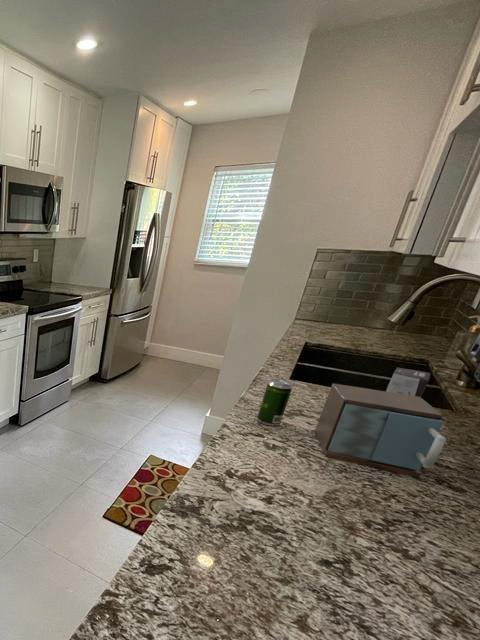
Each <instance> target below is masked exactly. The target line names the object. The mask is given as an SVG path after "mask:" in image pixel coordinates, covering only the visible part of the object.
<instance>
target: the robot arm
mask: <svg viewBox="0 0 480 640" xmlns="http://www.w3.org/2000/svg"><path fill="white" fill-rule="evenodd" d="M468 356H471V357H472V358H474V359H476V360H478V361H480V333H479V334H478V335H477V337H476V339H475V341H474V342H473V344H472V346H471V348H470V349H469V351H468ZM473 377H474V378H475V379H476V382H478V383H480V363H478V366H477V368H476V370H475V372H474V374H473Z"/></svg>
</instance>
